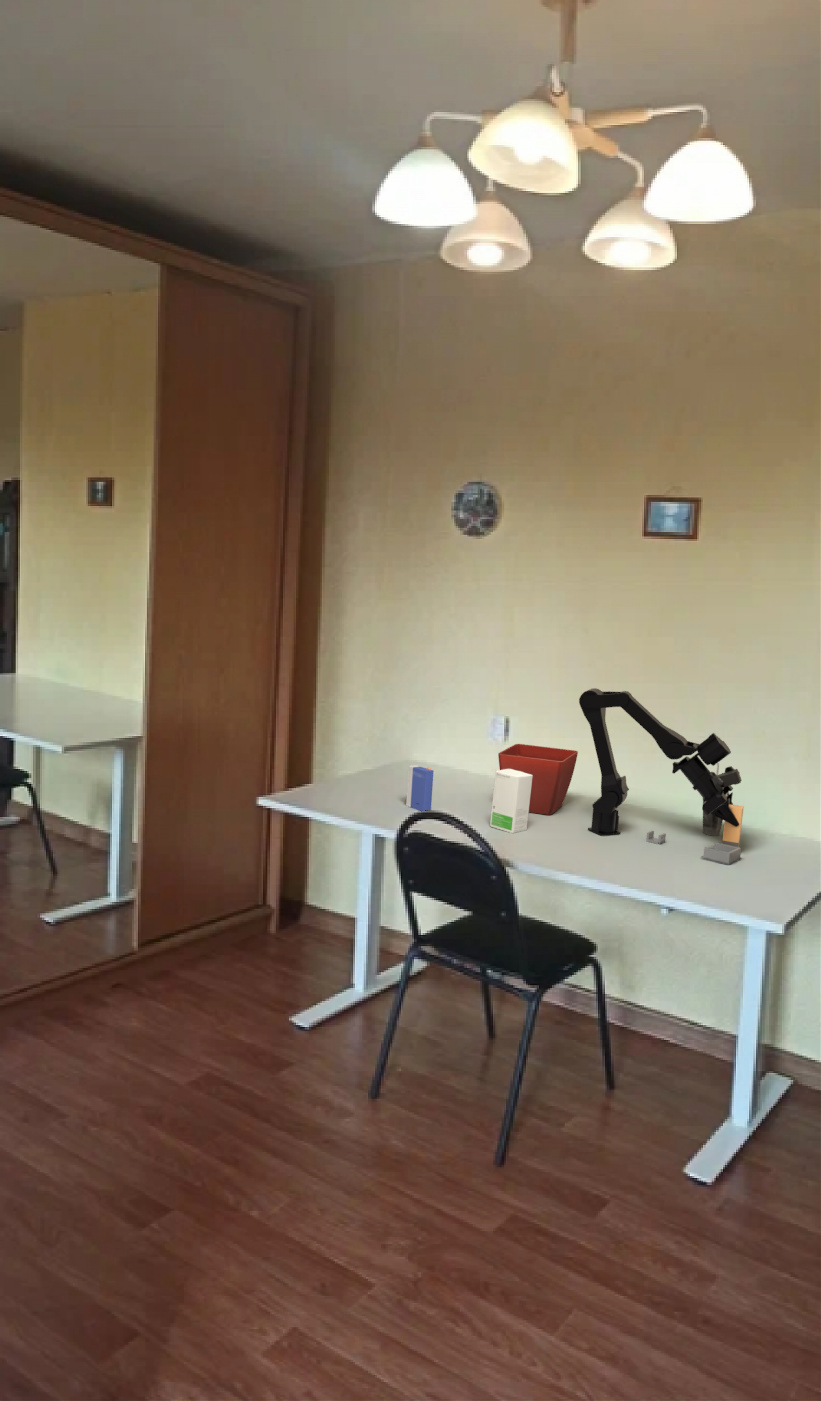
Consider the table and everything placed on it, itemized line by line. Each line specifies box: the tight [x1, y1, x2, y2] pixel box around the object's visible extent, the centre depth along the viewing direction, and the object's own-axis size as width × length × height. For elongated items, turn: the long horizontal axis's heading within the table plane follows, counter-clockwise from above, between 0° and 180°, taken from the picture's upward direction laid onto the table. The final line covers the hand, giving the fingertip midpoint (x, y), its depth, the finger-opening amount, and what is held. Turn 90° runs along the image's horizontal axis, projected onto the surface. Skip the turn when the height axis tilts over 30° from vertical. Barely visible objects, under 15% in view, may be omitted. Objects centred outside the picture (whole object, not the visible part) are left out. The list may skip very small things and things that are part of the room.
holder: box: [700, 842, 742, 866], centre depth 285 cm, size 7×7×3 cm
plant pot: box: [497, 743, 579, 816], centre depth 326 cm, size 19×19×17 cm
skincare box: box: [489, 769, 533, 834], centre depth 301 cm, size 8×7×16 cm
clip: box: [645, 830, 667, 845], centre depth 298 cm, size 3×4×2 cm
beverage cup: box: [702, 762, 730, 837], centre depth 309 cm, size 7×7×20 cm
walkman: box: [405, 764, 434, 812], centre depth 318 cm, size 8×3×12 cm, turn 39°
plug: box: [721, 804, 745, 848], centre depth 292 cm, size 4×4×11 cm
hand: (738, 823), depth 291 cm, fingers closed on plug, 4 cm apart
